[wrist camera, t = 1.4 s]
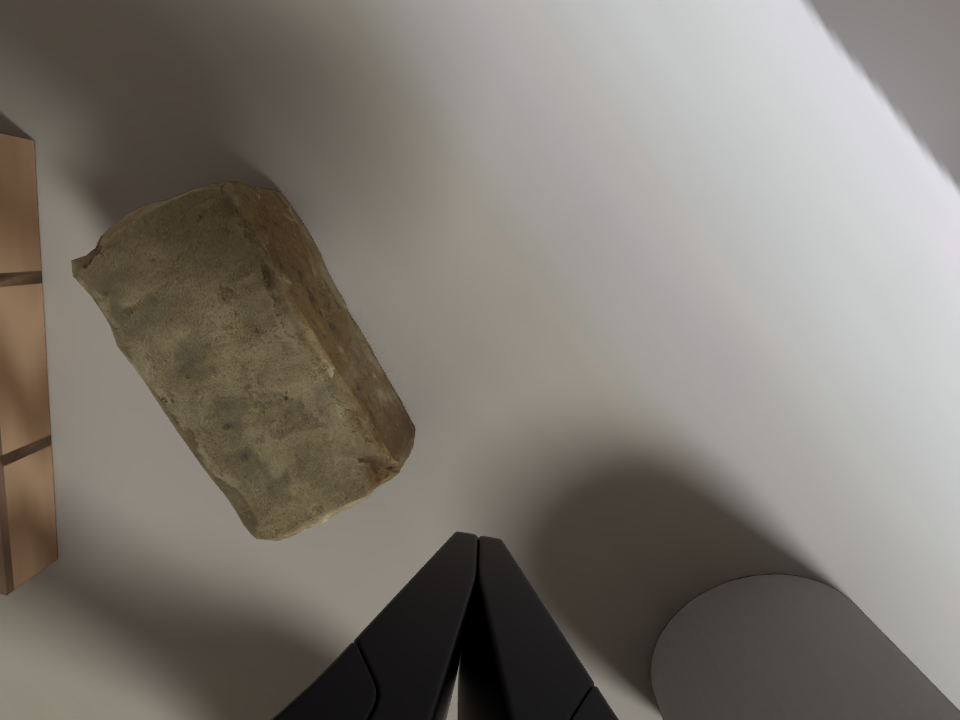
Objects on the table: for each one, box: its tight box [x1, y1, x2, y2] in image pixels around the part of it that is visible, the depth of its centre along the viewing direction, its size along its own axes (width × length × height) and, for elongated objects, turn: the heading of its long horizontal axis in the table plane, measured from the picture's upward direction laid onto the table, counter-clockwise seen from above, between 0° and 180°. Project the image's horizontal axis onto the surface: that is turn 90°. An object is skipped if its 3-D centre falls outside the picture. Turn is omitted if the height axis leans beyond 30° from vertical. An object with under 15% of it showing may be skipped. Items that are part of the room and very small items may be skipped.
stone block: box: [72, 181, 415, 541], centre depth 16 cm, size 6×12×5 cm, turn 27°
